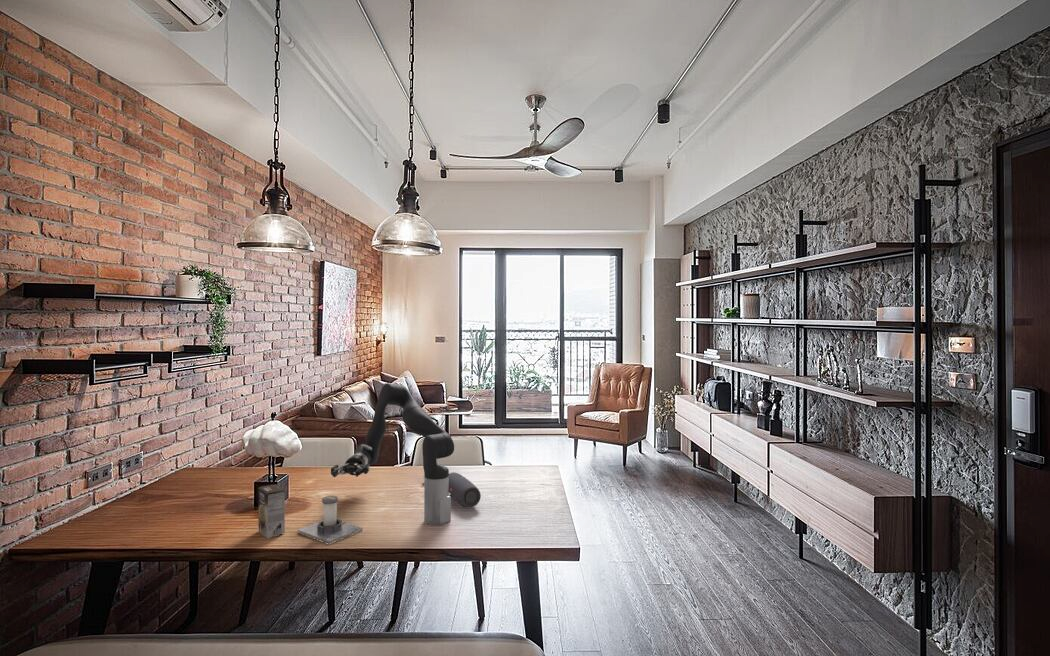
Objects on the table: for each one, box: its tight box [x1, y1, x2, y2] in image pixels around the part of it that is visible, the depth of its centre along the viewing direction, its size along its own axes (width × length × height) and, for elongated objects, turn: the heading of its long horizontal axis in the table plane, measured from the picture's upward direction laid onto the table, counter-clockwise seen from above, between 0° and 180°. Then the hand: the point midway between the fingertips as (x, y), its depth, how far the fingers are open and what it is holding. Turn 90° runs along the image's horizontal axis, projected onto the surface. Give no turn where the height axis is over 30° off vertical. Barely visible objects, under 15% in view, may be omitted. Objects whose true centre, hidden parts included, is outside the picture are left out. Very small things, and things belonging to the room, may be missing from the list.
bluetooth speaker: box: [449, 472, 482, 508], centre depth 222 cm, size 23×9×10 cm, turn 27°
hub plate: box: [296, 518, 363, 545], centre depth 189 cm, size 18×14×3 cm
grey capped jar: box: [321, 495, 339, 527], centre depth 189 cm, size 5×5×11 cm
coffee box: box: [257, 483, 286, 539], centre depth 188 cm, size 9×6×16 cm
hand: (345, 474), depth 203 cm, fingers open, 8 cm apart
